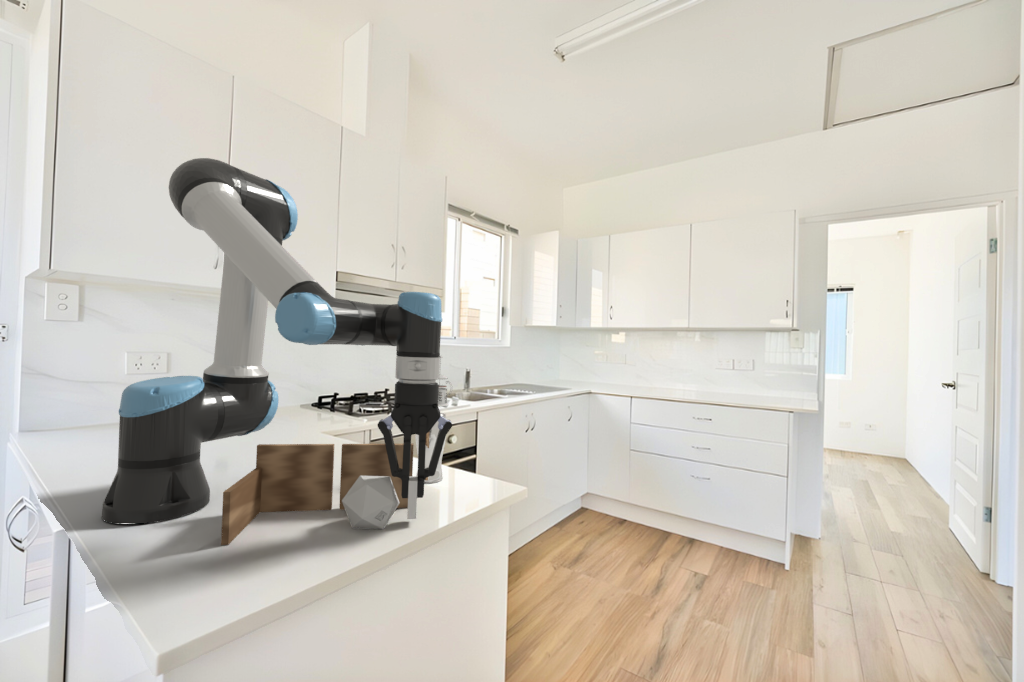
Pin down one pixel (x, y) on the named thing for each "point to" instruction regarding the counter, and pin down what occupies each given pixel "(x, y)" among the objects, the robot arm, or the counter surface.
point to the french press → (443, 391)
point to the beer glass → (430, 444)
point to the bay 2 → (370, 467)
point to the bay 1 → (280, 485)
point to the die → (370, 502)
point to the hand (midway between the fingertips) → (411, 515)
